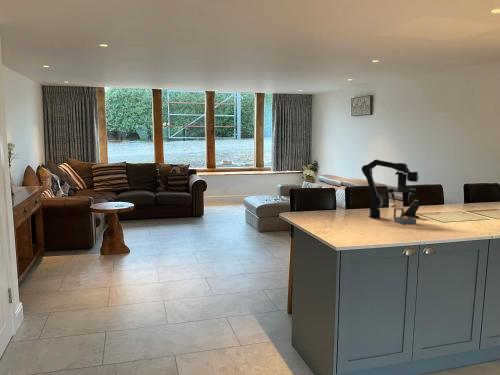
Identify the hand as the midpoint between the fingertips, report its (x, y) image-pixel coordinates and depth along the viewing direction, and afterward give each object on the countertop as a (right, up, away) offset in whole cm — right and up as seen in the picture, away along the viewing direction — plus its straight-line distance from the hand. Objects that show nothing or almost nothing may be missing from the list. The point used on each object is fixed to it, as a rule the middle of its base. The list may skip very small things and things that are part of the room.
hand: (401, 203), depth 293 cm
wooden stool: (0, -12, +4) cm, 12 cm away
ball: (-1, -11, -9) cm, 14 cm away
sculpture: (+11, -11, +13) cm, 20 cm away
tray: (-1, -13, -9) cm, 16 cm away
